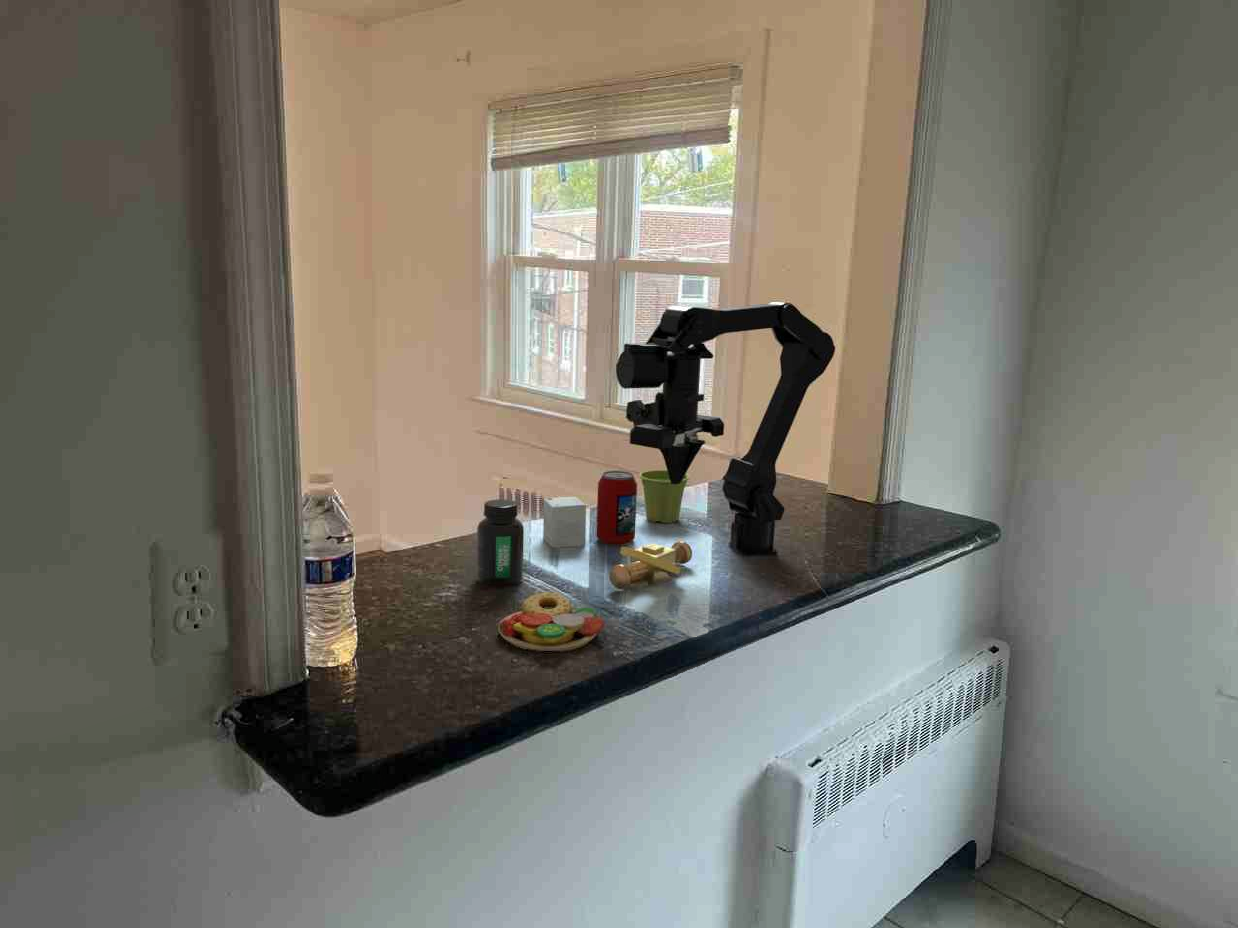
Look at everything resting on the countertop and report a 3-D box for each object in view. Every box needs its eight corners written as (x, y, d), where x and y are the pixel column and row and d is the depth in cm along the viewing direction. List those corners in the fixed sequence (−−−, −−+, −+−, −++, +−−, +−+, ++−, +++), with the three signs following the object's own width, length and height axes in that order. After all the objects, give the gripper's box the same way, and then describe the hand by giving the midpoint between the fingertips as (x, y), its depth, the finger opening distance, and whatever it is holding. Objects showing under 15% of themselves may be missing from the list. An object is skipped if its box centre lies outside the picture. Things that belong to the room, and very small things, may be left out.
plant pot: (654, 528, 165) (656, 482, 163) (628, 515, 173) (630, 471, 171) (696, 523, 170) (699, 478, 168) (669, 510, 178) (671, 468, 176)
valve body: (672, 561, 147) (674, 531, 146) (699, 568, 144) (701, 538, 143) (603, 588, 133) (604, 556, 132) (632, 597, 130) (633, 564, 129)
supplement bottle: (511, 590, 131) (512, 511, 128) (469, 584, 133) (469, 506, 130) (529, 576, 137) (531, 500, 134) (488, 570, 139) (489, 495, 136)
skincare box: (585, 546, 153) (587, 504, 151) (551, 549, 151) (552, 506, 149) (575, 536, 159) (576, 495, 157) (542, 538, 156) (542, 497, 155)
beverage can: (630, 548, 153) (633, 480, 150) (592, 544, 154) (594, 476, 151) (637, 537, 159) (640, 471, 157) (600, 534, 160) (603, 468, 158)
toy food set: (544, 608, 125) (545, 586, 125) (622, 632, 118) (623, 609, 117) (477, 637, 114) (477, 614, 114) (558, 666, 107) (558, 641, 106)
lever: (672, 562, 137) (623, 542, 126) (688, 567, 136) (640, 546, 125) (668, 576, 137) (618, 557, 126) (684, 581, 135) (635, 562, 124)
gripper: (672, 377, 153) (667, 467, 156) (603, 386, 139) (600, 484, 142) (728, 384, 146) (722, 477, 150) (662, 394, 132) (657, 497, 135)
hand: (675, 483), depth 144 cm, fingers closed
